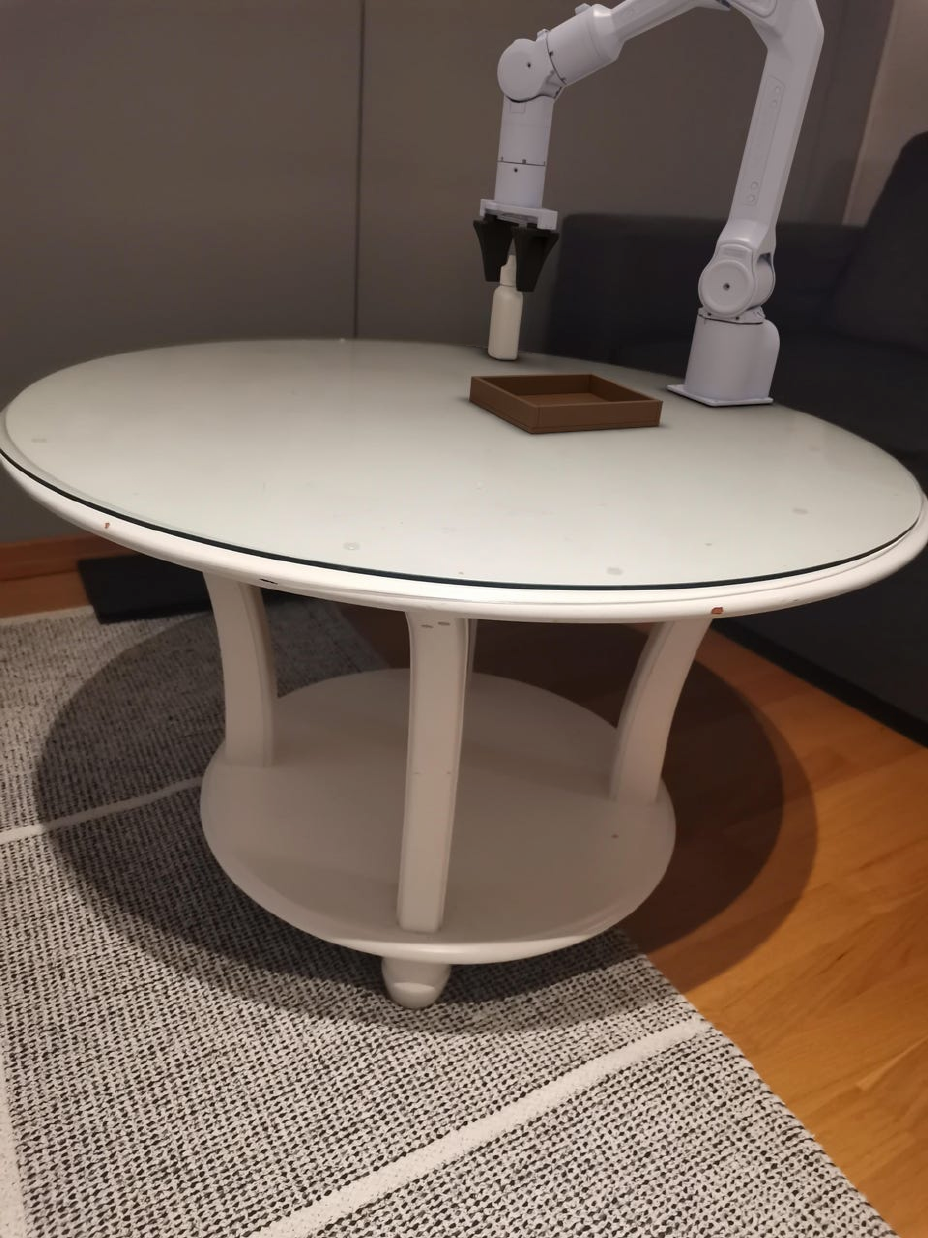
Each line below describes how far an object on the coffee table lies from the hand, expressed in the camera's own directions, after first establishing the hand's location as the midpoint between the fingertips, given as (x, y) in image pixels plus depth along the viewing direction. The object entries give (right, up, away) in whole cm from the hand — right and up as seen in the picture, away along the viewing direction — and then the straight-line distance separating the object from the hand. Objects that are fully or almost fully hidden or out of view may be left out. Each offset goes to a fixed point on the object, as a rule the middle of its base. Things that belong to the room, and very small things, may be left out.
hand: (509, 286), depth 115 cm
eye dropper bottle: (-1, -8, +4) cm, 9 cm away
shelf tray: (+5, -20, -20) cm, 28 cm away
